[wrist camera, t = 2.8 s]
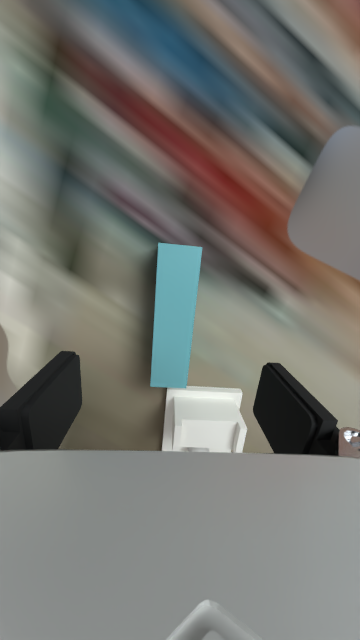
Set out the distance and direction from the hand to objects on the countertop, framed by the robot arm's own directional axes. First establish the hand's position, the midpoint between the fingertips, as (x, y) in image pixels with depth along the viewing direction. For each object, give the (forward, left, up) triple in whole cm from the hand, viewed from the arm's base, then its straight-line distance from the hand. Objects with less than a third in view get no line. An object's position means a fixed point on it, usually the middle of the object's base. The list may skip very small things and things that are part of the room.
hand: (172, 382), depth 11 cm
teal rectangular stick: (0, 0, -15) cm, 15 cm away
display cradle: (-5, +19, -15) cm, 25 cm away
